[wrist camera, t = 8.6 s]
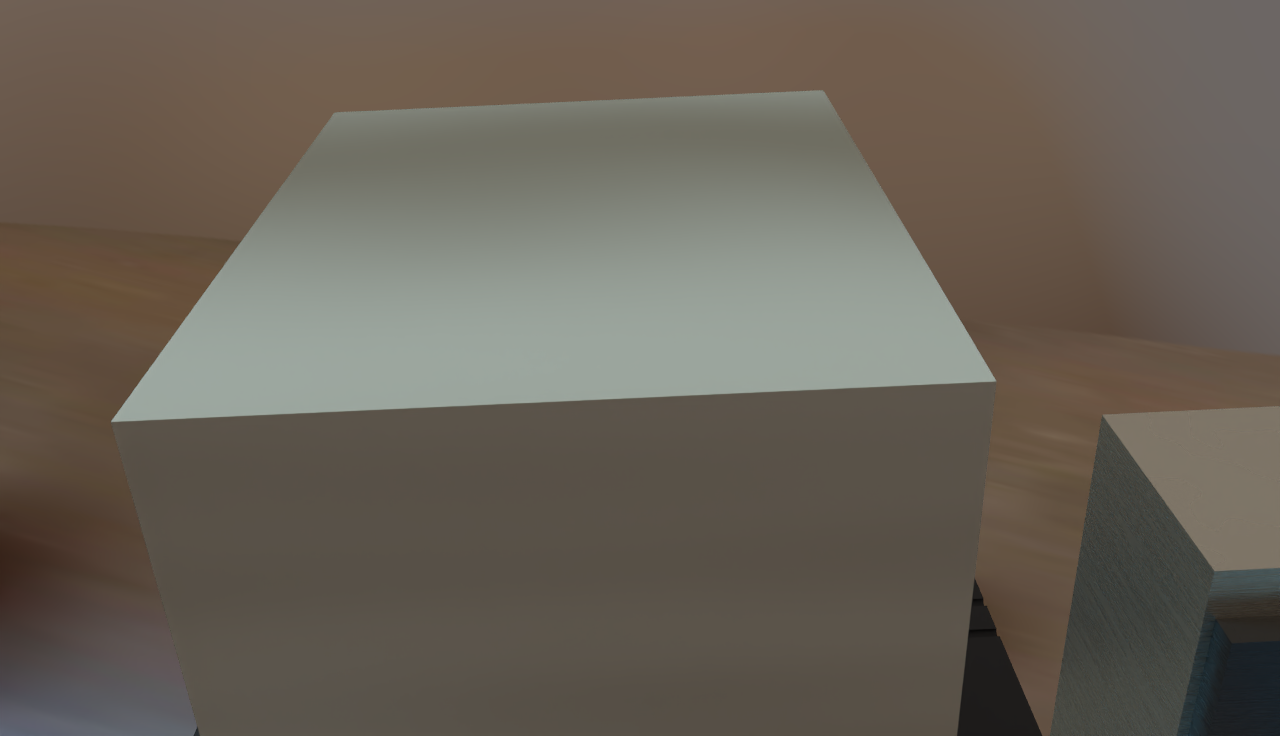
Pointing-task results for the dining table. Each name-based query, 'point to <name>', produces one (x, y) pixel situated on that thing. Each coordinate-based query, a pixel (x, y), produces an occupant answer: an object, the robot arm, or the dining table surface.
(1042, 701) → the dining table surface
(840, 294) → the tall beige block
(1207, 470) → the grey stand with upright
